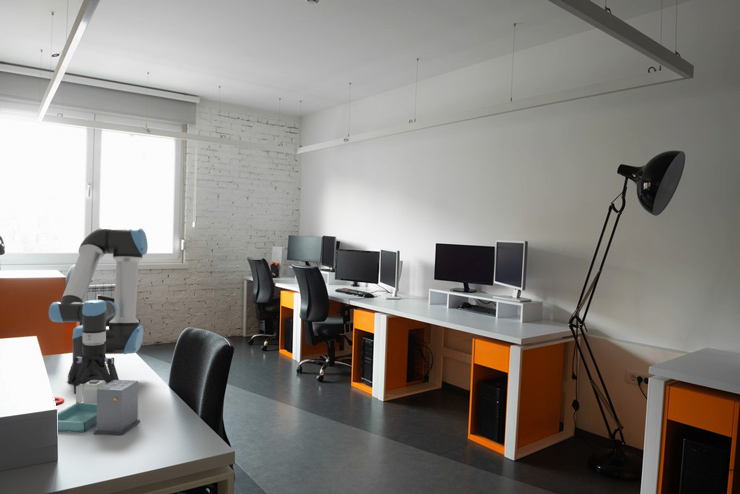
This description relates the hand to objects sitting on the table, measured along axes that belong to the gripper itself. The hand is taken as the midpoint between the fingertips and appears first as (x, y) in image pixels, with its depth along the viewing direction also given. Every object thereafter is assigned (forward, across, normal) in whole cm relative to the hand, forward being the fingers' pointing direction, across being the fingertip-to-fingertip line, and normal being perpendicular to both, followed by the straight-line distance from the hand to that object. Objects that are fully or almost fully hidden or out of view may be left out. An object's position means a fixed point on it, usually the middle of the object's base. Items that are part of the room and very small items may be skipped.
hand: (93, 403), depth 187 cm
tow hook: (+1, -16, -1) cm, 16 cm away
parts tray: (0, +5, -16) cm, 17 cm away
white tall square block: (0, 0, 0) cm, 0 cm away
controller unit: (0, +20, -20) cm, 28 cm away
